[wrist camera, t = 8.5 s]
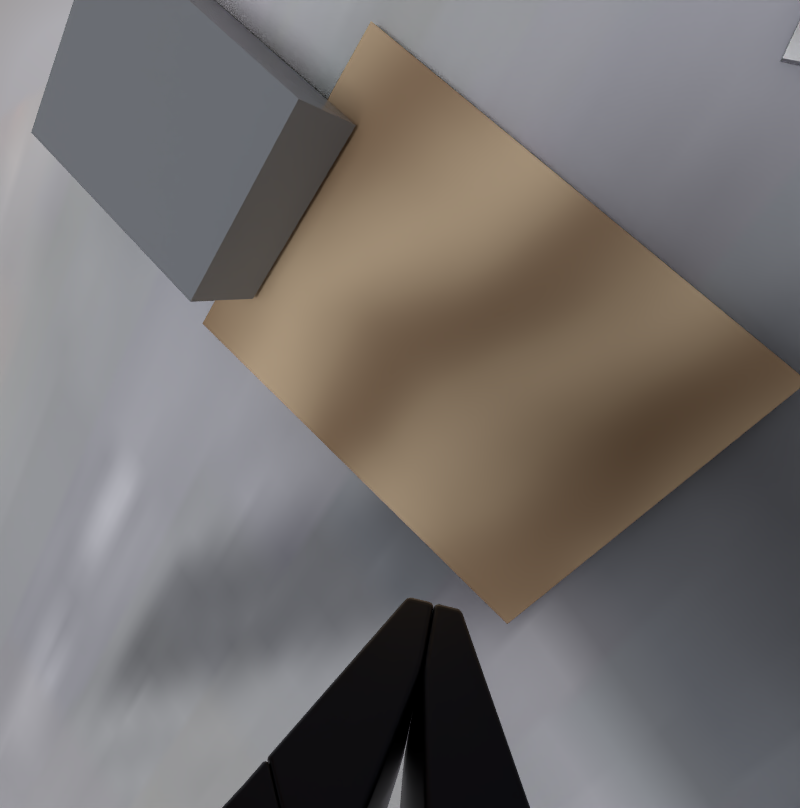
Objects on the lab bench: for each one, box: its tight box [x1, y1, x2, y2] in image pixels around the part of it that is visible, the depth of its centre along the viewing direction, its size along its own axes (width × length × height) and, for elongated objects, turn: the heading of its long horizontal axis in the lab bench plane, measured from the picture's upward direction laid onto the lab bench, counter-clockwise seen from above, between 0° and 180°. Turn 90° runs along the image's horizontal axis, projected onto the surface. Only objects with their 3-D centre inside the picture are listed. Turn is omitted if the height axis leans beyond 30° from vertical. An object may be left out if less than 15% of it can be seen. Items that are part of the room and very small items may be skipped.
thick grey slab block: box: [31, 0, 356, 302], centre depth 19 cm, size 3×7×9 cm
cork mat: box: [203, 22, 800, 624], centre depth 19 cm, size 16×12×1 cm
